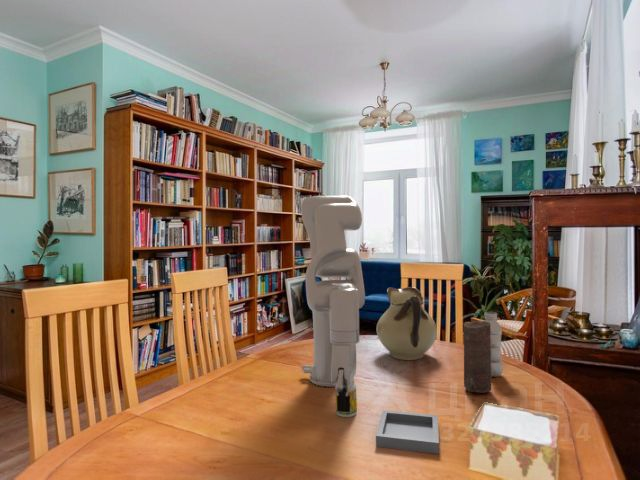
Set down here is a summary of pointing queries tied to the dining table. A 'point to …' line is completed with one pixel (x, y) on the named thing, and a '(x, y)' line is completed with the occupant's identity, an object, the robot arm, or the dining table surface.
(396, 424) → the tray
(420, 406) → the dining table surface
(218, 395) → the dining table surface
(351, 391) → the supplement bottle
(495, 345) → the plastic bottle
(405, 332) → the pitcher
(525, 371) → the dining table surface
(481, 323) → the candle
